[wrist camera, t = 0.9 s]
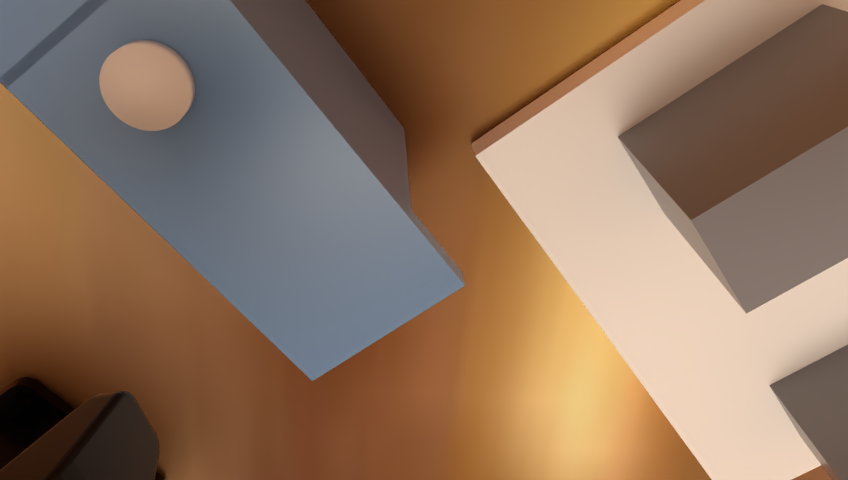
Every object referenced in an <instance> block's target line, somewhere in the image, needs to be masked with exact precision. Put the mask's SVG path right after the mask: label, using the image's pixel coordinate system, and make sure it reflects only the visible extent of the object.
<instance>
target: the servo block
mask: <svg viewBox="0 0 848 480" xmlns="http://www.w3.org/2000/svg"><path fill="white" fill-rule="evenodd" d="M0 82H1V83H2V84H3V85H4V86H5V87H6V88H7V89H8V90H9V91H10V92H11V93H12V94H13V95H14V96H15V97H16V98H17V99H18V100H19V101H20V102H21V103H22V104H23V105H25V106H26V107H27V108H28V109H29V110H30V111H31V112H32V113H33V114H34V115H35V116H36V117H37V118H38V119H39V120H40V121H41V122H42V123H43V124H44V125H45V126H46V127H48V128H49V129H50V130H51V131H52V132H53V133H54V134H55V135H56V136H57V137H58V138H59V139H60V140H61V141H62V142H63V143H64V144H65V145H66V146H67V147H68V148H69V149H71V150H72V151H73V152H74V153H75V154H76V155H77V156H78V157H79V158H80V159H81V160H82V161H83V162H84V163H85V164H86V165H87V166H88V167H89V168H90V169H91V170H92V171H93V172H95V173H96V174H97V175H98V176H99V177H100V178H101V179H102V180H103V181H104V182H105V183H106V184H107V185H108V186H109V187H110V188H111V189H112V190H113V191H114V192H115V193H116V194H118V195H119V196H120V197H121V198H122V199H123V200H124V201H125V202H126V203H127V204H128V205H129V206H130V207H131V208H132V209H133V210H134V211H135V212H136V213H137V214H138V215H139V216H141V217H142V218H143V219H144V220H145V221H146V222H147V223H148V224H149V225H150V226H151V227H152V228H153V229H154V230H155V231H156V232H157V233H158V234H159V235H160V236H161V237H162V238H163V239H165V240H166V241H167V242H168V243H169V244H170V245H171V246H172V247H173V248H174V249H175V250H176V251H177V252H178V253H179V254H180V255H181V256H182V257H183V258H184V259H185V260H186V261H188V262H189V263H190V264H191V265H192V266H193V267H194V268H195V269H196V270H197V271H198V272H199V273H200V274H201V275H202V276H203V277H204V278H205V279H206V280H207V281H208V282H209V283H210V284H212V285H213V286H214V287H215V288H216V289H217V290H218V291H219V292H220V293H221V294H222V295H223V296H224V297H225V298H226V299H227V300H228V301H229V302H230V303H231V304H232V305H233V306H235V307H236V308H237V309H238V310H239V311H240V312H241V313H242V314H243V315H244V316H245V317H246V318H247V319H248V320H249V321H250V322H251V323H252V324H253V325H254V326H255V327H256V328H258V329H259V330H260V331H261V332H262V333H263V334H264V335H265V336H266V337H267V338H268V339H269V340H270V341H271V342H272V343H273V344H274V345H275V346H276V347H277V348H278V349H279V350H280V351H282V352H283V353H284V354H285V355H286V356H287V357H288V358H289V359H290V360H291V361H292V362H293V363H294V364H295V365H296V366H297V367H298V368H299V369H300V370H301V371H302V372H303V373H305V374H306V375H307V376H308V377H309V378H310V379H311V380H312V381H313V380H315V379H316V378H318V377H320V376H321V375H323V374H324V373H326V372H328V371H329V370H331V369H332V368H334V367H336V366H337V365H339V364H340V363H342V362H344V361H345V360H347V359H348V358H350V357H352V356H353V355H355V354H356V353H358V352H360V351H361V350H363V349H364V348H366V347H368V346H369V345H371V344H372V343H374V342H376V341H377V340H379V339H380V338H382V337H384V336H385V335H387V334H388V333H390V332H392V331H393V330H395V329H396V328H398V327H400V326H401V325H403V324H404V323H406V322H407V321H409V320H411V319H412V318H414V317H415V316H417V315H419V314H420V313H422V312H423V311H425V310H427V309H428V308H430V307H431V306H433V305H435V304H436V303H438V302H439V301H441V300H443V299H444V298H446V297H447V296H449V295H451V294H452V293H454V292H455V291H457V290H459V289H460V288H462V287H463V286H465V283H464V278H463V273H462V271H461V270H460V268H459V267H458V266H457V265H456V264H455V262H454V261H453V260H452V259H451V257H450V256H449V255H448V254H447V253H446V251H445V250H444V249H443V248H442V246H441V245H440V244H439V243H438V242H437V240H436V239H435V238H434V237H433V235H432V234H431V233H430V232H429V230H428V229H427V228H426V227H425V226H424V224H423V223H422V222H421V221H420V219H419V218H418V217H417V216H416V215H415V213H414V212H413V211H412V210H411V200H410V188H409V177H408V165H407V153H406V141H405V129H404V128H403V126H402V125H401V124H400V122H399V121H398V120H397V119H396V117H395V116H394V115H393V113H392V112H391V111H390V109H389V108H388V107H387V106H386V104H385V103H384V102H383V100H382V99H381V98H380V97H379V95H378V94H377V93H376V91H375V90H374V89H373V87H372V86H371V85H370V84H369V82H368V81H367V80H366V78H365V77H364V76H363V74H362V73H361V72H360V71H359V69H358V68H357V67H356V65H355V64H354V63H353V61H352V60H351V59H350V58H349V56H348V55H347V54H346V52H345V51H344V50H343V49H342V47H341V46H340V45H339V43H338V42H337V41H336V39H335V38H334V37H333V36H332V34H331V33H330V32H329V30H328V29H327V28H326V26H325V25H324V24H323V23H322V21H321V20H320V19H319V17H318V16H317V15H316V13H315V12H314V11H313V10H312V8H311V7H310V6H309V4H308V3H307V2H306V1H305V0H0Z"/></svg>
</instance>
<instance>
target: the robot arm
mask: <svg viewBox="0 0 848 480" xmlns="http://www.w3.org/2000/svg"><path fill="white" fill-rule="evenodd" d="M23 391H25V392H27V393H29V394H30V395H27V394H25V393H23ZM158 459H159V442H158V438H157V435H156V433H155V431H154V430H153V428H152V426H151V425H150V423H149V421H148V420H147V418H146V416H145V415H144V413H143V411H142V409H141V408H140V406H139V404H138V403H137V401H136V399H135V398H134V397H133V395H131V394H130V393H128V392H126V391H116V392H109V393H102V394H97V395H94V396H92V397H90V398H89V399H87V400H86V401H85V402H84V403H82V404H81V405H80V406H79V407H77V408H76V409H74V408H73V407H71V406H70V405H69V404H67V403H66V402H65V401H64V400H62V399H61V398H60V397H58V396H57V395H56V394H54V393H53V392H52V391H50V390H49V389H48V388H47V387H45V386H44V385H43V384H41V383H40V382H39V381H37V380H35V379H32V378H28V377H25V378H20V379H17V380H16V381H14V382H13V383H11V384H10V385H9V386H7V387H6V388H5V389H3V390H2V391H0V480H164V478H163V477H162V476H161V475H160V474H159V473H158V472H156V469H157V464H158Z"/></svg>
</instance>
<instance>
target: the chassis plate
mask: <svg viewBox="0 0 848 480" xmlns="http://www.w3.org/2000/svg"><path fill="white" fill-rule="evenodd" d="M471 145H472V148H473V151H474V154H475V157H476V158H477V159H478V161H479V162H480V163H481V165H482V166H483V168H484V169H485V170H486V172H487V173H488V174H489V176H490V177H491V178H492V180H493V181H494V183H495V184H496V185H497V187H498V188H499V189H500V191H501V192H502V193H503V195H504V196H505V198H506V199H507V200H508V202H509V203H510V204H511V206H512V207H513V209H514V210H515V211H516V213H517V214H518V215H519V217H520V218H521V219H522V221H523V222H524V224H525V225H526V226H527V228H528V229H529V230H530V232H531V233H532V234H533V236H534V237H535V239H536V240H537V241H538V243H539V244H540V245H541V247H542V248H543V250H544V251H545V252H546V254H547V255H548V256H549V258H550V259H551V260H552V262H553V263H554V265H555V266H556V267H557V269H558V270H559V271H560V273H561V274H562V275H563V277H564V278H565V280H566V281H567V282H568V284H569V285H570V286H571V288H572V289H573V291H574V292H575V293H576V295H577V296H578V297H579V299H580V300H581V301H582V303H583V304H584V306H585V307H586V308H587V310H588V311H589V312H590V314H591V315H592V316H593V318H594V319H595V321H596V322H597V323H598V325H599V326H600V327H601V329H602V330H603V332H604V333H605V334H606V336H607V337H608V338H609V340H610V341H611V342H612V344H613V345H614V347H615V348H616V349H617V351H618V352H619V353H620V355H621V356H622V357H623V359H624V360H625V362H626V363H627V364H628V366H629V367H630V368H631V370H632V371H633V373H634V374H635V375H636V377H637V378H638V379H639V381H640V382H641V383H642V385H643V386H644V388H645V389H646V390H647V392H648V393H649V394H650V396H651V397H652V398H653V400H654V401H655V403H656V404H657V405H658V407H659V408H660V409H661V411H662V412H663V414H664V415H665V416H666V418H667V419H668V420H669V422H670V423H671V424H672V426H673V427H674V429H675V430H676V431H677V433H678V434H679V435H680V437H681V438H682V439H683V441H684V442H685V444H686V445H687V446H688V448H689V449H690V450H691V452H692V453H693V455H694V456H695V457H696V459H697V460H698V461H699V463H700V464H701V465H702V467H703V468H704V470H705V471H706V472H707V474H708V475H709V476H710V478H711V479H712V480H791V479H793V478H795V477H798V476H800V475H802V474H804V473H806V472H808V471H810V470H812V469H814V468H816V467H818V466H820V465H822V467H823V468H824V469H825V471H826V472H827V473H828V475H829V476H830V477H831V479H832V480H848V0H680V1H679V2H677V3H676V4H675V5H673V6H672V7H670V8H669V9H667V10H666V11H664V12H663V13H661V14H660V15H658V16H657V17H656V18H654V19H653V20H651V21H650V22H648V23H647V24H645V25H644V26H642V27H641V28H639V29H638V30H637V31H635V32H634V33H632V34H631V35H629V36H628V37H626V38H625V39H623V40H622V41H620V42H619V43H617V44H616V45H615V46H613V47H612V48H610V49H609V50H607V51H606V52H604V53H603V54H601V55H600V56H598V57H597V58H596V59H594V60H593V61H591V62H590V63H588V64H587V65H585V66H584V67H582V68H581V69H579V70H578V71H577V72H575V73H574V74H572V75H571V76H569V77H568V78H566V79H565V80H563V81H562V82H560V83H559V84H558V85H556V86H555V87H553V88H552V89H550V90H549V91H547V92H546V93H544V94H543V95H541V96H540V97H539V98H537V99H536V100H534V101H533V102H531V103H530V104H528V105H527V106H525V107H524V108H522V109H521V110H519V111H518V112H517V113H515V114H514V115H512V116H511V117H509V118H508V119H506V120H505V121H503V122H502V123H500V124H499V125H498V126H496V127H495V128H493V129H492V130H490V131H489V132H487V133H486V134H484V135H483V136H481V137H480V138H479V139H477V140H476V141H474V142H473V143H471Z"/></svg>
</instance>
